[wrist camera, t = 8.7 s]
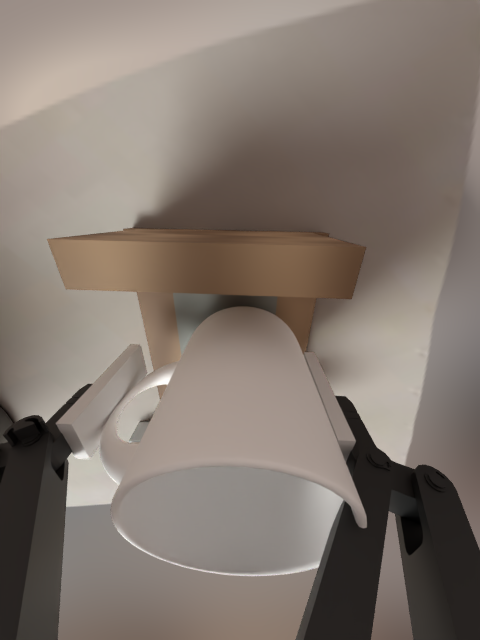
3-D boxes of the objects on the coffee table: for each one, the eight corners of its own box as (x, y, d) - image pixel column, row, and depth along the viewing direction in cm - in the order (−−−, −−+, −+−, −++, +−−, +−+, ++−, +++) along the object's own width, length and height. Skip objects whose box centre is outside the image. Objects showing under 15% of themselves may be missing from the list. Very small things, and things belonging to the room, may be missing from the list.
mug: (135, 308, 15) (-56, 463, 6) (300, 298, 14) (401, 460, 5) (164, 393, 19) (78, 571, 10) (295, 389, 18) (346, 580, 9)
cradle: (166, 401, 23) (127, 486, 16) (132, 228, 15) (22, 238, 8) (290, 408, 23) (309, 498, 16) (323, 232, 15) (394, 247, 7)
